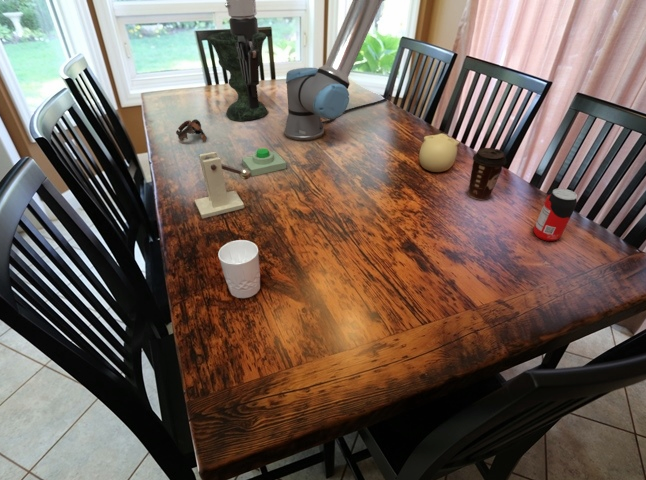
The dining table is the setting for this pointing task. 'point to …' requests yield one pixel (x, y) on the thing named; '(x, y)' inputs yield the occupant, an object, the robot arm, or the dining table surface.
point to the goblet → (237, 73)
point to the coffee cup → (485, 172)
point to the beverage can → (555, 214)
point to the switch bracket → (216, 189)
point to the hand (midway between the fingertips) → (254, 107)
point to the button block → (264, 163)
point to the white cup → (241, 267)
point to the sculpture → (438, 152)
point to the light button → (262, 153)
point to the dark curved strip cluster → (190, 129)
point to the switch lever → (235, 170)
